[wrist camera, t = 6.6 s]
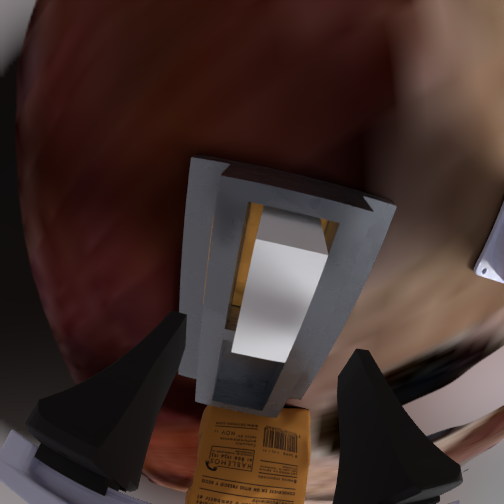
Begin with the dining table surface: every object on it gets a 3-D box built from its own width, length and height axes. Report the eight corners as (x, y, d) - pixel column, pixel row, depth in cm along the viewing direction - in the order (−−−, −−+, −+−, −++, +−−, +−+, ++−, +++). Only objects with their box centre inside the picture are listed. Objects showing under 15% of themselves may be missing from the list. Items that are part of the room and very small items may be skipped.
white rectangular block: (318, 210, 16) (328, 255, 11) (287, 305, 19) (285, 362, 15) (265, 198, 16) (256, 238, 12) (244, 296, 19) (231, 352, 15)
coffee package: (290, 439, 32) (275, 584, 13) (199, 419, 32) (159, 569, 13) (325, 407, 27) (317, 595, 8) (213, 382, 27) (160, 584, 8)
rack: (391, 200, 16) (412, 223, 13) (301, 391, 26) (300, 421, 23) (196, 153, 16) (174, 167, 13) (181, 366, 26) (171, 394, 23)
